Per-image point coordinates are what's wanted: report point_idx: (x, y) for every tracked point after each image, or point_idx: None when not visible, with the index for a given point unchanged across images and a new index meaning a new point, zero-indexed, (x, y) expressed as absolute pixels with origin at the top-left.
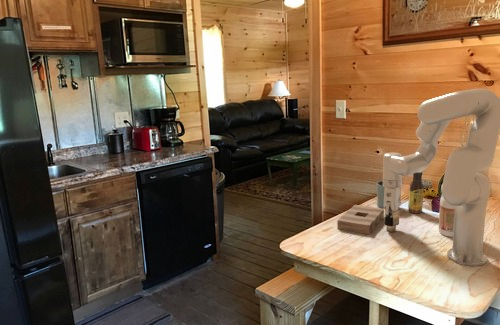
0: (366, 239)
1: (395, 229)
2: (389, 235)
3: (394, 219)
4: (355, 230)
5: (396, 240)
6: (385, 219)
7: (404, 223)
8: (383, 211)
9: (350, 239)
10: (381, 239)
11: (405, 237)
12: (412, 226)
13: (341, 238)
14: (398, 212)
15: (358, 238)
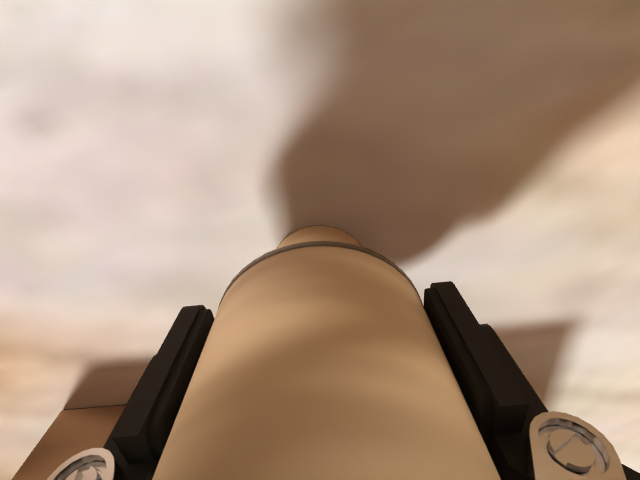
0: (614, 352)
1: (322, 237)
2: (456, 237)
3: (430, 344)
4: None
5: (578, 124)
6: None
7: (33, 226)
8: (38, 476)
9: (636, 423)
10: (586, 262)
11: (444, 57)
12: (32, 110)
13: (628, 460)
14: (362, 455)
15: (605, 396)
